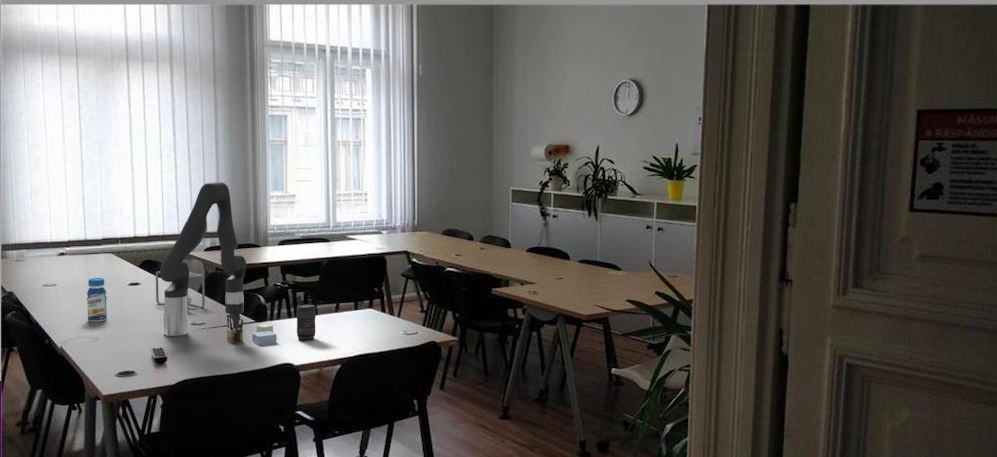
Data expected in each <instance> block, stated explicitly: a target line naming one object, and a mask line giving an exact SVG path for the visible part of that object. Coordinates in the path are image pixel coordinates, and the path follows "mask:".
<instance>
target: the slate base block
mask: <svg viewBox="0 0 997 457" xmlns="http://www.w3.org/2000/svg"><path fill="white" fill-rule="evenodd" d="M251 335H252V336H251V337H252V342H253V343H254V344H256V345H257V346H262V345H263V346H264V345H272V344H277V334H276V333H274V331H273V332H272V331H266V332H257V331H256V332H252V334H251Z"/></svg>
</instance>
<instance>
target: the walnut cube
mask: <svg viewBox="0 0 997 457" xmlns="http://www.w3.org/2000/svg"><path fill="white" fill-rule="evenodd" d="M226 331H227V332H226V337H227V338H226V339H227V342H228V343H230V344H237V343H242V342H243V341H244V339H243V338H244V336H243V334H244V332H243V329H242V332H241V333H240V342H235V341H234V334H235V333H234V329H226Z"/></svg>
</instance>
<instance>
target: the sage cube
mask: <svg viewBox="0 0 997 457" xmlns="http://www.w3.org/2000/svg"><path fill="white" fill-rule="evenodd" d="M266 331H272V332H273V333H274V325H272V324H268V323H263V324H259V325H256V332H266Z"/></svg>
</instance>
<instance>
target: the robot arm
mask: <svg viewBox="0 0 997 457" xmlns="http://www.w3.org/2000/svg"><path fill="white" fill-rule="evenodd" d="M231 202H232V201H231V194H230V189H229V186H228V185H227V184H226V183H225V182H222V181H214V182H212V181H211V182H206V183H204V184H203V185H202V186H201V187H200V190H199V191H198V195H197V196H196V201H195V202H194V206H193V208H192V210H191V212H190V213H189V216H188V218H187V220H186V221H185V223H184V225H183V227H182V230H181V231H180V233H179V236H178V237H177V239H176V241H175V243H174V245H173V247H172V248H171V250H170V252H169V253H168V255H167V256H166V258H164V261H163V262H162V264H161V266H160V268H159V271H160V274H159V277H160V278H161V280H162V281H164V282H166V283H169V282H171V283H170V284H169V286H168V287H167V288H165V290H164V302H165V306H164V312H163V334H164V335H165V336H166V337H179V336H185V335H187V334H188V331H189V330H188V310H187V291H188V292H189V289H190V286H189V284H190V275H189V272H190V268H189V265H188V263H187V261H185V259H186V258H187V257H188V256H189V255H190V254H191V253H192V252H193V251H194V250H195V249H196V248H197V247H198V246H199V245H200V244H201V242H202V240H203V239H204V237H205V235H206V232H207V229H208V221H207V217H208V213H209V212H210V211H211V208H212V207H213V205H217V209H218V224H217V230H216V232H217V238H218V241H219V246H220V265H221V267H222V270H224V271H225V273H228V274H230V276H229V277H228V278H227V279H226V280H225V296H224V298H225V300H224V302H225V304H224V305H225V310H224V311H225V314H227V315H226V321H227V322H226V323H227V330H229V329H234V333H235V334H234V341H235V342H238V343H241V342H240V333H241V332H242V330H243V323H244V319H242V318H241V314H242V313H244V311H245V303H244V302H245V300H244V299H245V298H244V297H245V296H244V279H245V276H246V275H245V273H246V270H247V262H246V259H245V257H244V256H243V255H241V254H235V250H236V249H237V248H238V247H239V244H238V243H239V242H238V240H237V236H236V233H235V229H234V223H233V214H232V205H231Z"/></svg>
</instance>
